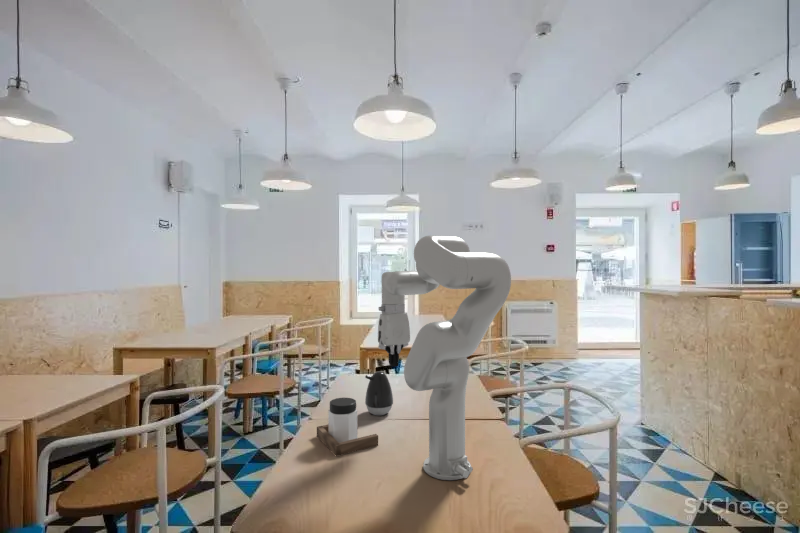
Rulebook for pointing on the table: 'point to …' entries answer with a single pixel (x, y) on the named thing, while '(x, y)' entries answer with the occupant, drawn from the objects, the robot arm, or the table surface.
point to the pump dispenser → (378, 394)
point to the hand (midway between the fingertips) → (393, 365)
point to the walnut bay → (345, 442)
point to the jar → (342, 419)
